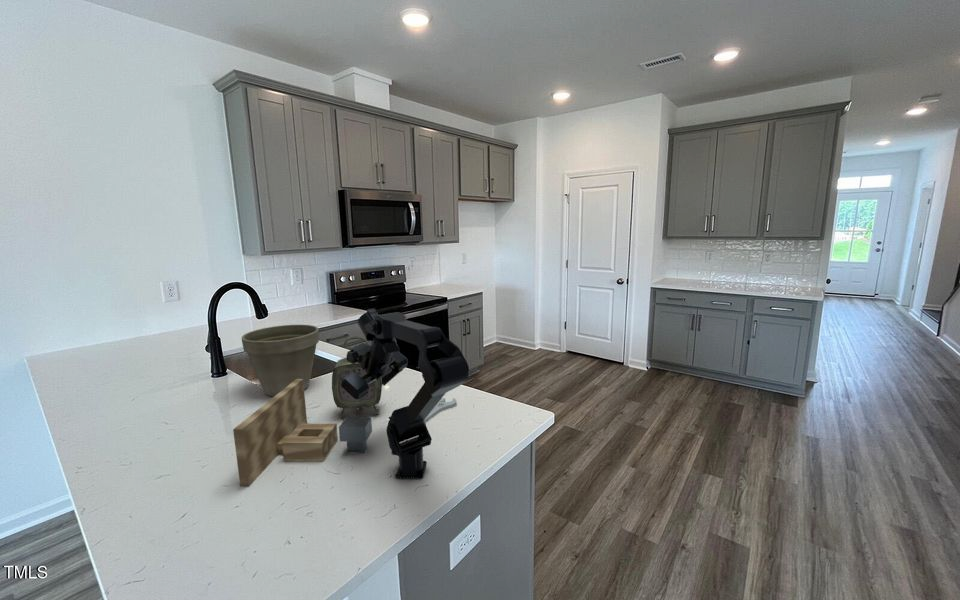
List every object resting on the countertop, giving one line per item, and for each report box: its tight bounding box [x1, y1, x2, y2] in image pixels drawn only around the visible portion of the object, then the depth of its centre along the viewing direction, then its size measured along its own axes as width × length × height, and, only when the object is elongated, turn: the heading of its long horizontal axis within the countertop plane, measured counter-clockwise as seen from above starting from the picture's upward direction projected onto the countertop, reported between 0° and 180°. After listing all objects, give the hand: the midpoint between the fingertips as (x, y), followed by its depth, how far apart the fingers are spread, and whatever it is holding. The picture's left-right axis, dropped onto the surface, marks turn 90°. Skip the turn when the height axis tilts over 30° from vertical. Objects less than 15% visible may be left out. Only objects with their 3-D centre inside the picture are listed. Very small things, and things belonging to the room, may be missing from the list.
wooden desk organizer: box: [232, 379, 339, 487], centre depth 104 cm, size 30×15×14 cm, turn 179°
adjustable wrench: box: [424, 397, 457, 424], centre depth 124 cm, size 25×6×2 cm, turn 147°
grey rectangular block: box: [338, 417, 373, 454], centre depth 104 cm, size 5×7×8 cm
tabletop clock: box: [331, 336, 383, 419], centre depth 124 cm, size 14×9×25 cm, turn 101°
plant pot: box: [241, 324, 320, 397], centre depth 144 cm, size 25×25×22 cm
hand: (371, 392), depth 110 cm, fingers open, 9 cm apart
